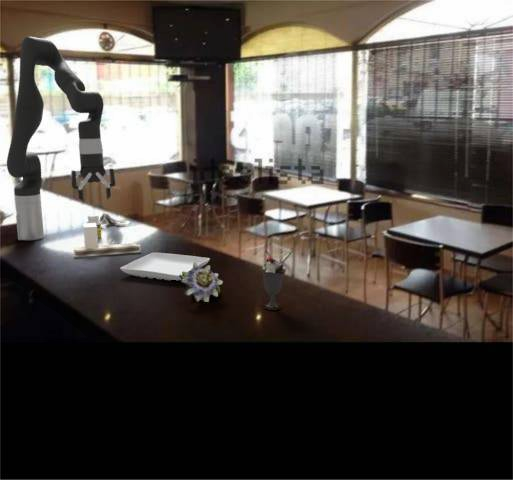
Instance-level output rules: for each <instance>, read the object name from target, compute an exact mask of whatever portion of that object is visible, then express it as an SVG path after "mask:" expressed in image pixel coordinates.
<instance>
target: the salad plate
mask: <svg viewBox="0 0 513 480" xmlns="http://www.w3.org/2000/svg"><path fill="white" fill-rule="evenodd" d="M209 261H211V259H210V257H202V256H196V255H195V256H193V255H186V254H185V255H184V254H175V253H164V252H151V253H149V254H147V255H144V256H142V257H139V258H138V259H136V260H133V261H131V262H129V263H128V264H125V265H123V266H120V268H119V269H120V270H121V271H122V272H123V273H125V274H128V275H130V276H135V277H138V276H139V277H138V278H145V277H148V278H147V279H153V278H156V279H155V280H162V279H164V281H171V280H176V281H181V280H182V279H181V278H180V277H179V275H180V274H181V276H182V272H183V271H184V272H188V271H191V269H193V264H194V262H195V263H197V264H198V266H199V267H200V266H202V267H204V266H206V265H207V264H208V262H209ZM187 275H188V273H187V274H185V276H186V277H187ZM183 278H184V276H183Z"/></svg>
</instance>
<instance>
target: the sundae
mask: <svg viewBox="0 0 513 480" xmlns="http://www.w3.org/2000/svg"><path fill="white" fill-rule="evenodd" d="M264 252H265V253H267V255H268V258H266V260H265V263H264V264H263V266H262V268H259V273H261V275H262V278H263V286H264V289H265V292H266V293H267V294H268V295H269V296H270V297H269V298H270V301H269V303H267V304H268V305H266V304H265V305H266V306H267V307H269V308H270V307H271V308H273V307H278V305H277V304H278V303H276V295H277V294H279V293H280V292H281V289H282V284H283V277H284V275H285V273H286V271H287V270H286V268H284V264H283V263H282V264H281V263H280V262H279V261H278V260H277V259H274V258H273V257H271V255H270V252H268V250H264ZM280 264H281V265H280Z"/></svg>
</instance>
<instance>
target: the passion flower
mask: <svg viewBox="0 0 513 480" xmlns="http://www.w3.org/2000/svg"><path fill="white" fill-rule="evenodd" d="M187 273H188V275H187V276H185V274H187ZM183 276H184V278H183ZM179 277H180V278H181V280H180V282H181V283H183V284H185V285H186V286H187V288H186V290H185V291H184V295H185V297H187V296H192V295H193V297H194V298H193V299H194V300H195V301H196V302H197V303H199V302H200V301H202V302H203V301H204V302H208V303H209V301H210V296H211V295H212V296H213V297H215V298H217V297H219V295H220V293H221V289H220V286H221V285H223V282H224V281H223V280H221V279H220V278H218V277H219V273H216V272H215V273H214V272H213V270H211V265H205V267H203V266H200V267H199V266H198V264H197V263H195V262H194V264H193V269H191V271H188V272H184V271H183V272H182V276H181V274H180V275H179ZM191 294H192V295H191ZM218 294H219V295H218ZM204 302H203V303H204Z"/></svg>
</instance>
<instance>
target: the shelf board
mask: <svg viewBox="0 0 513 480" xmlns="http://www.w3.org/2000/svg"><path fill="white" fill-rule="evenodd" d="M98 246H99V248H89V249H85V246H77V247H73V256H74V258H83V257H85V258H86V257H97V256H98V257H99V256H108V255H121V254H134V253H135V254H138V253H142V252H141V251H142V250H141V244H137V243H136V242H133V243H132V242H131V243H120V244H119V243H118V244H116V243H115V244H105V245H103V244H102V245H98Z"/></svg>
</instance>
